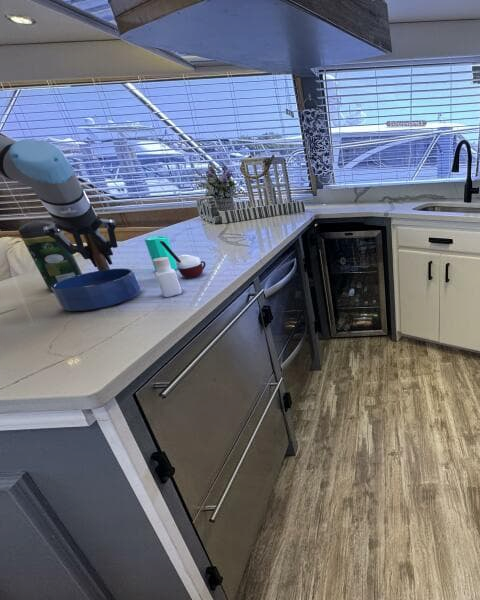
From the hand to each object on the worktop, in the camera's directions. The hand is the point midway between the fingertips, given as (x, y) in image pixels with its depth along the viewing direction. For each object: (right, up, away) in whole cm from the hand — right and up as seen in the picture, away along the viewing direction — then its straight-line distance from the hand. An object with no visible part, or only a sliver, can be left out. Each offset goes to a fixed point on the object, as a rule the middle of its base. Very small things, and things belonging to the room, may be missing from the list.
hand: (102, 261), depth 92 cm
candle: (+9, -1, +13) cm, 16 cm away
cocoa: (+22, -4, +5) cm, 23 cm away
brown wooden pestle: (+3, -6, -1) cm, 7 cm away
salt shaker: (+26, -10, -8) cm, 29 cm away
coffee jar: (-11, -7, +1) cm, 14 cm away
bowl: (+10, -11, -10) cm, 18 cm away
